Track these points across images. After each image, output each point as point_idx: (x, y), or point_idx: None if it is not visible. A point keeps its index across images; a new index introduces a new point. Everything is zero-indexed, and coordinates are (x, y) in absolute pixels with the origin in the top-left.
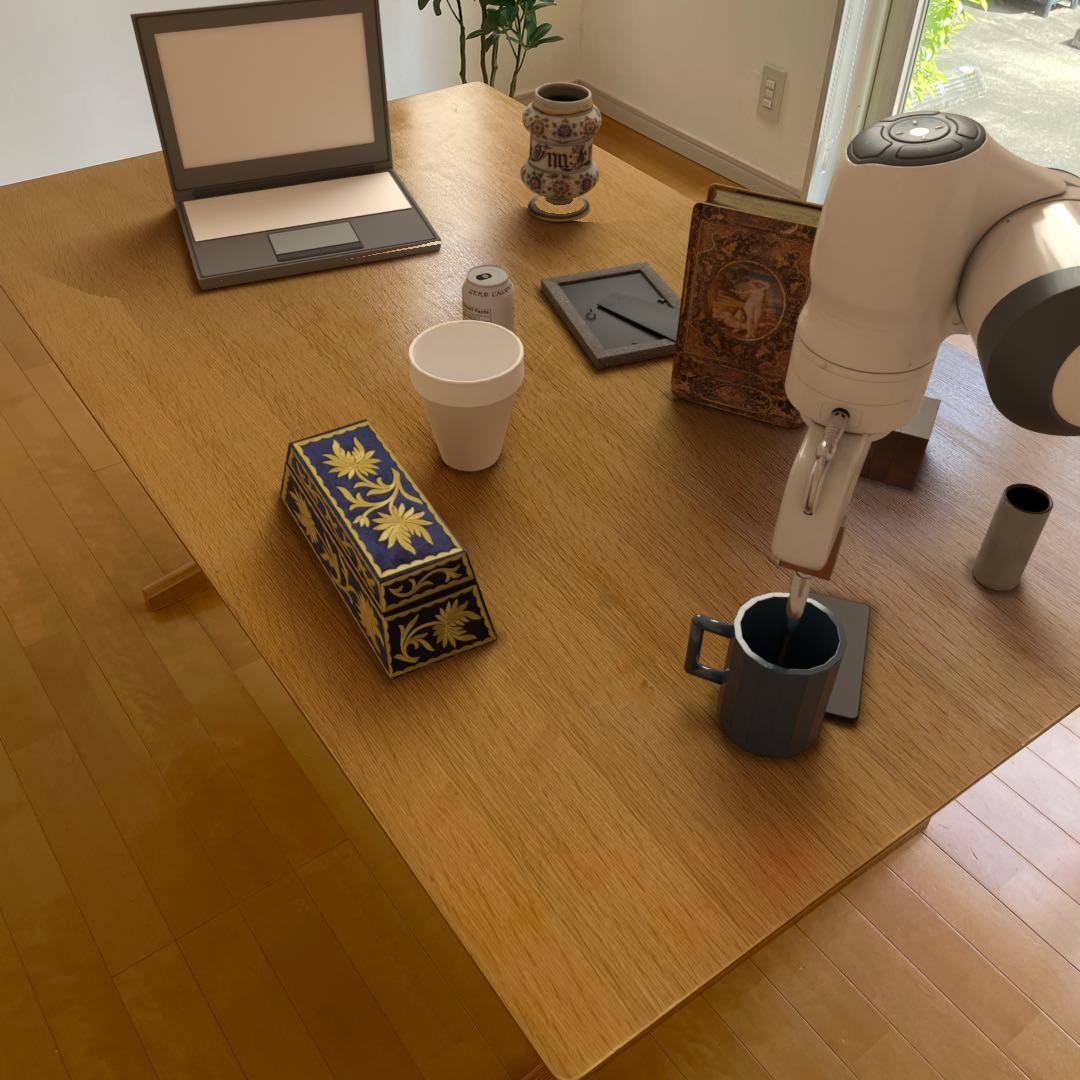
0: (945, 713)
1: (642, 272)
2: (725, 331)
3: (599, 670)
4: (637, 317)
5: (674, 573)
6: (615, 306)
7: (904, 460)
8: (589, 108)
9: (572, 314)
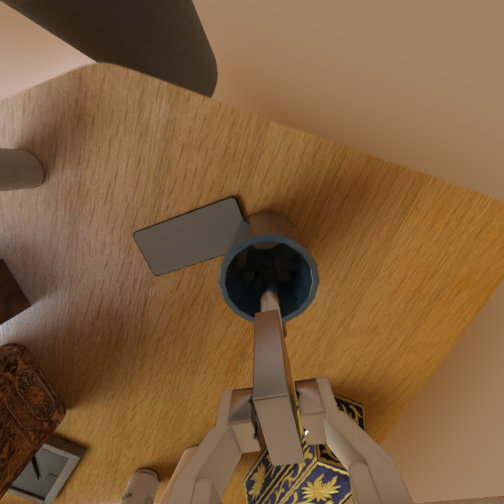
0: (182, 145)
1: None
2: None
3: (295, 335)
4: None
5: (199, 340)
6: (30, 473)
7: None
8: None
9: (59, 483)
